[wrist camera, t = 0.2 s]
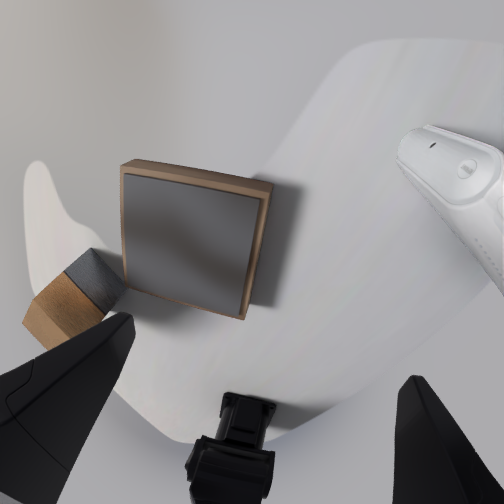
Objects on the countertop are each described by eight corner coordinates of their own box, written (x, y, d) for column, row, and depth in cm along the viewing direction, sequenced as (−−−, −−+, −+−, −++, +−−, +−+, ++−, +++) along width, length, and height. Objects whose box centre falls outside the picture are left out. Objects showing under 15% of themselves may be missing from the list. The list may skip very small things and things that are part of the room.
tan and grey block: (128, 287, 29) (80, 348, 21) (105, 309, 31) (62, 364, 24) (90, 247, 27) (32, 299, 20) (71, 273, 30) (21, 323, 22)
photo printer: (382, 156, 19) (459, 232, 8) (420, 113, 17) (532, 145, 6) (463, 246, 20) (536, 355, 10) (497, 210, 18) (587, 301, 8)
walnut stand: (249, 304, 27) (243, 322, 25) (136, 273, 28) (123, 288, 25) (273, 183, 21) (268, 194, 19) (135, 158, 22) (118, 166, 20)
